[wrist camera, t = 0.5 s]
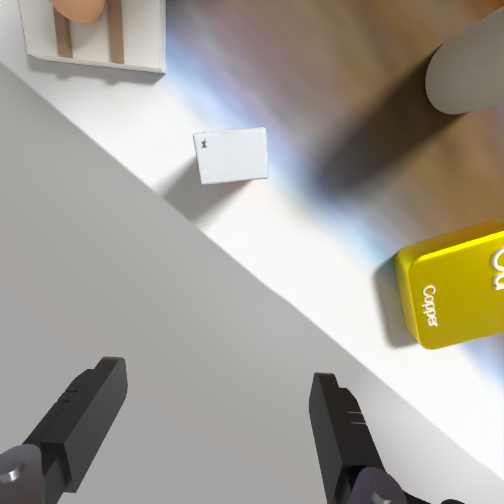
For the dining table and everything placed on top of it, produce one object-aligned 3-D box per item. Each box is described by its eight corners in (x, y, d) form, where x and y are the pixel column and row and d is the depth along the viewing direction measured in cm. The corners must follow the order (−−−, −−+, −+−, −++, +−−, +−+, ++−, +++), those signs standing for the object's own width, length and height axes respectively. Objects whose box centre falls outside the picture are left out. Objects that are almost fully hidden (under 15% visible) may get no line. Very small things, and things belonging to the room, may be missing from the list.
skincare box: (217, 176, 35) (198, 185, 23) (212, 140, 33) (190, 131, 22) (264, 171, 34) (269, 179, 23) (262, 135, 33) (265, 124, 22)
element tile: (389, 249, 38) (407, 262, 34) (503, 215, 36) (538, 223, 32) (406, 335, 43) (424, 356, 38) (507, 308, 41) (539, 327, 36)
